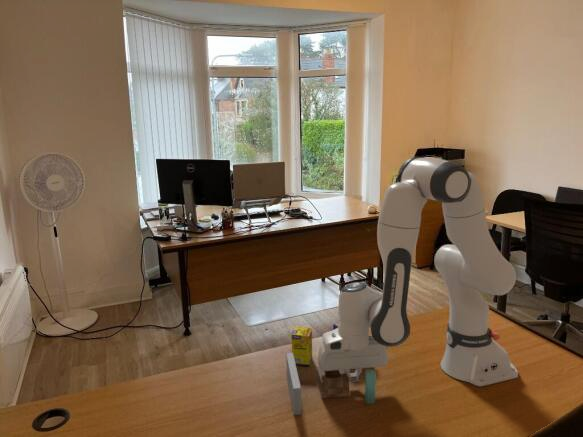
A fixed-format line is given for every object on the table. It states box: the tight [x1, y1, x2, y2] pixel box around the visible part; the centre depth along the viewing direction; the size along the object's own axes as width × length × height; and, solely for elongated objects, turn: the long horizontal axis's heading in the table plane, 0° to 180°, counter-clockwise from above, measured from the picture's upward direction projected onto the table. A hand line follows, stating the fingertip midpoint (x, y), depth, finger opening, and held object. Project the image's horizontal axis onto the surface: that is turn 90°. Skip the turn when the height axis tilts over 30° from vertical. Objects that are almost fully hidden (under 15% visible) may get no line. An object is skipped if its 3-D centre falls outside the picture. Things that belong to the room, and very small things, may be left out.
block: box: [316, 366, 350, 399], centre depth 127 cm, size 8×8×5 cm
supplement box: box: [290, 326, 313, 368], centre depth 141 cm, size 6×6×11 cm
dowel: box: [364, 368, 377, 405], centre depth 121 cm, size 3×3×9 cm
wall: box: [285, 352, 302, 416], centre depth 125 cm, size 2×18×8 cm, turn 7°
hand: (352, 380), depth 128 cm, fingers closed
